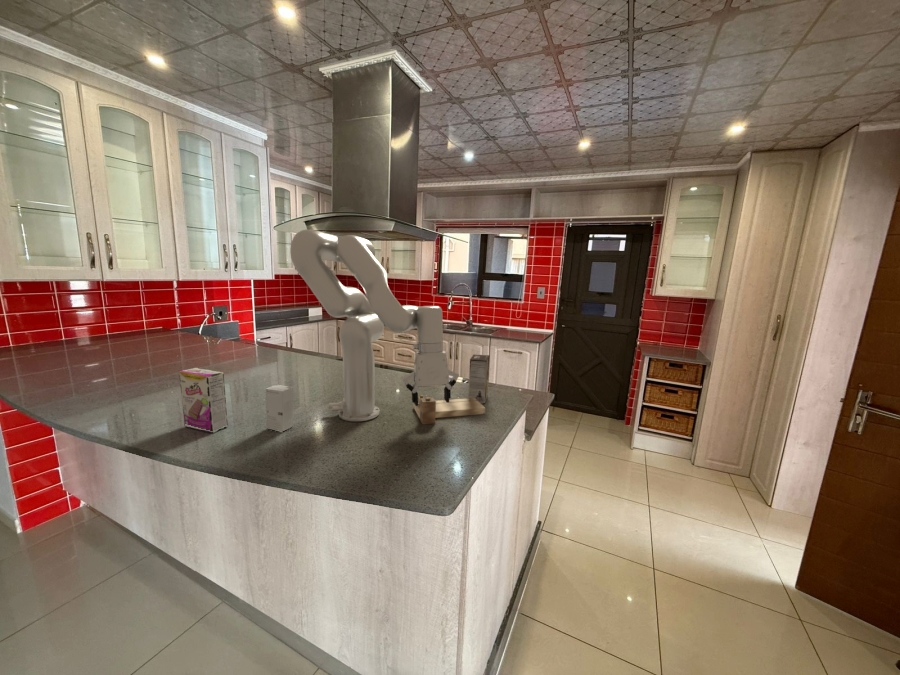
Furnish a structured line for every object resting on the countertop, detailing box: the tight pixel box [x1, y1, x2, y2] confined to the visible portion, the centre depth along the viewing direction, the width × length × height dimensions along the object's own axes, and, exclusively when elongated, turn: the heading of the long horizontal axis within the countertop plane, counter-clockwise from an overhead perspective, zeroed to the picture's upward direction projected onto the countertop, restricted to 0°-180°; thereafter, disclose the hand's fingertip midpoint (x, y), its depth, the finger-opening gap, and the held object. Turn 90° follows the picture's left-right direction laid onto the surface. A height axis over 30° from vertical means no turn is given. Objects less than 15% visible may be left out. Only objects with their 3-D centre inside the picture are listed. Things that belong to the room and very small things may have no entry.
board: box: [413, 397, 486, 420], centre depth 116 cm, size 22×10×2 cm, turn 107°
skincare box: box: [265, 384, 294, 431], centre depth 97 cm, size 6×4×12 cm
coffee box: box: [467, 354, 490, 404], centre depth 127 cm, size 9×6×16 cm
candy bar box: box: [178, 367, 229, 431], centre depth 96 cm, size 11×5×16 cm, turn 71°
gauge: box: [418, 394, 437, 425], centre depth 110 cm, size 4×12×8 cm, turn 17°
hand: (431, 402), depth 105 cm, fingers open, 9 cm apart
